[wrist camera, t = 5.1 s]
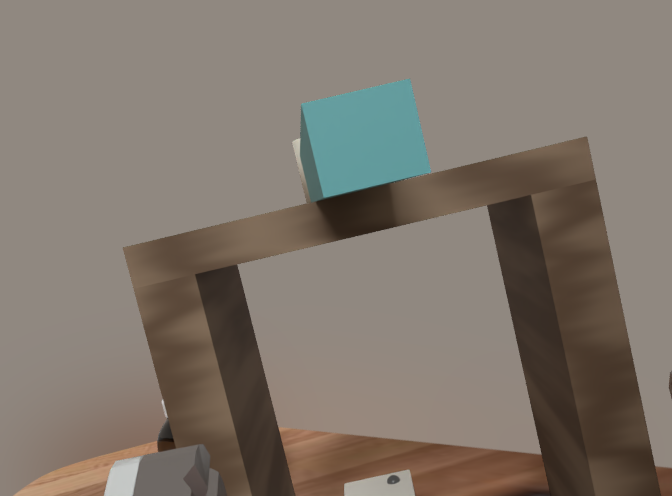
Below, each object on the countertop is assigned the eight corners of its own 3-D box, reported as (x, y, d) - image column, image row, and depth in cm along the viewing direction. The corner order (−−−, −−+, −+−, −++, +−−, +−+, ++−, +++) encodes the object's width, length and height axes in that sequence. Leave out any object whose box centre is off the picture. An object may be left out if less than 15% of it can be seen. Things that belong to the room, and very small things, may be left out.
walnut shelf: (608, 545, 41) (524, 152, 39) (695, 664, 30) (586, 136, 28) (280, 614, 42) (181, 234, 40) (256, 752, 31) (122, 247, 29)
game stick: (365, 190, 42) (351, 131, 42) (438, 170, 20) (410, 45, 20) (306, 204, 42) (292, 145, 41) (316, 199, 20) (285, 74, 19)
